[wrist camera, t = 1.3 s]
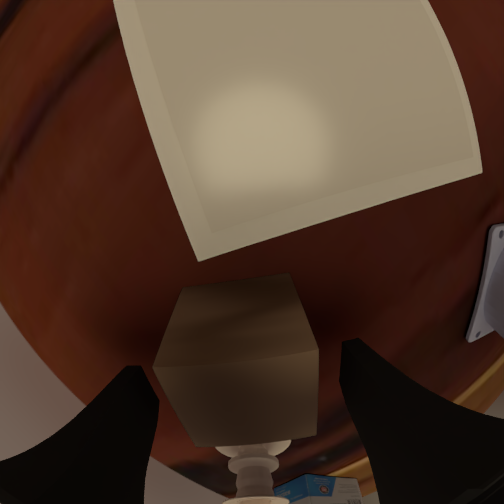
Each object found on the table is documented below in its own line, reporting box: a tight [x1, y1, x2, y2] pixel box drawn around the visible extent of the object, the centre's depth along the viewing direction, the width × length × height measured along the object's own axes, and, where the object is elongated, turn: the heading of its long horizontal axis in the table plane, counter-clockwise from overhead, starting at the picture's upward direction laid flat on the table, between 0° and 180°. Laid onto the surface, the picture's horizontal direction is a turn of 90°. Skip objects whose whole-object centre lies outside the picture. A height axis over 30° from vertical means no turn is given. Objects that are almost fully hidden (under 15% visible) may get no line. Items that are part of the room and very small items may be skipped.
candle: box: [215, 440, 291, 504], centre depth 11 cm, size 5×5×10 cm
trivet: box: [113, 0, 482, 262], centre depth 7 cm, size 12×12×2 cm
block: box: [152, 273, 319, 447], centre depth 10 cm, size 4×4×5 cm
